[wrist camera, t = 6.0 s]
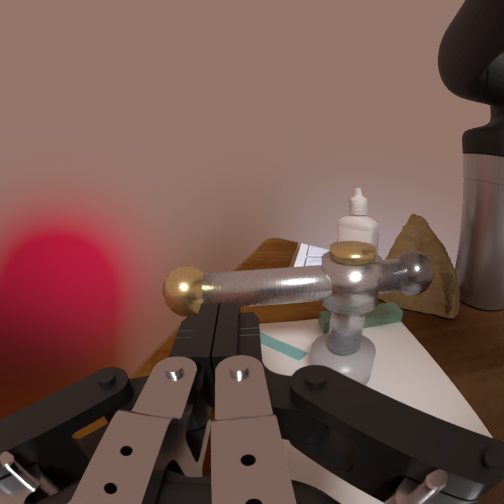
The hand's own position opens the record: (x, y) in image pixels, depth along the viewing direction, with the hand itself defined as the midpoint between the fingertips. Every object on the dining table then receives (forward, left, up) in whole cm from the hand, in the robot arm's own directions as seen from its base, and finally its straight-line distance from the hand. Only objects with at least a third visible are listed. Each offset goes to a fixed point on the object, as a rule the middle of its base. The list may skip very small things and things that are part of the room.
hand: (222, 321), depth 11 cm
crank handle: (-4, -3, -4) cm, 7 cm away
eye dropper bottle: (-15, -24, -9) cm, 30 cm away
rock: (-19, -14, -9) cm, 26 cm away
